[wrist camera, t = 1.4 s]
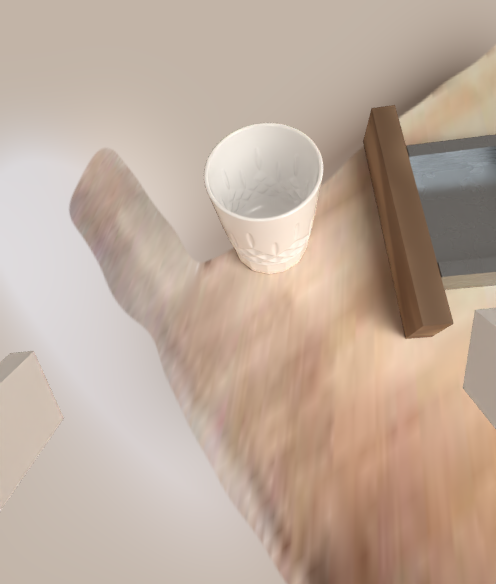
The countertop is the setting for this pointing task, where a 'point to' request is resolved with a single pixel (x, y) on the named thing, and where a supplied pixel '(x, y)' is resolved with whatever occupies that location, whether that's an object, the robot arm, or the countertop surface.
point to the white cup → (266, 193)
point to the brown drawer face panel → (405, 228)
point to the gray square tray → (459, 207)
